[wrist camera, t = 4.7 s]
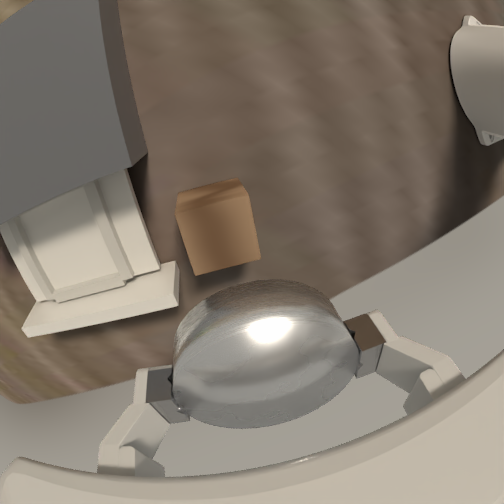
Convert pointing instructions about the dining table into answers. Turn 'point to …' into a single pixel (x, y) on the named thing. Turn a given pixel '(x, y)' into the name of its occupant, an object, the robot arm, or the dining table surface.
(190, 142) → the dining table surface
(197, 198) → the wooden block
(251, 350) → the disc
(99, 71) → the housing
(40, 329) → the cream drawer
